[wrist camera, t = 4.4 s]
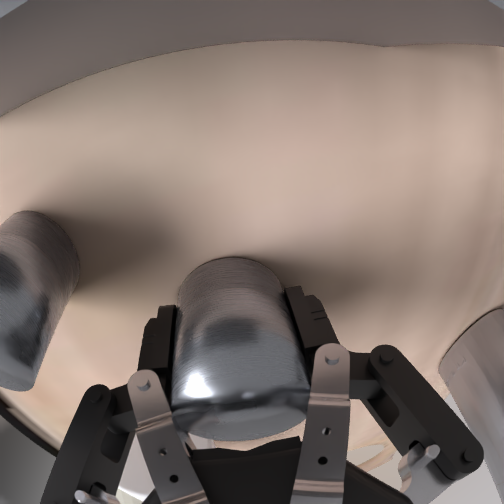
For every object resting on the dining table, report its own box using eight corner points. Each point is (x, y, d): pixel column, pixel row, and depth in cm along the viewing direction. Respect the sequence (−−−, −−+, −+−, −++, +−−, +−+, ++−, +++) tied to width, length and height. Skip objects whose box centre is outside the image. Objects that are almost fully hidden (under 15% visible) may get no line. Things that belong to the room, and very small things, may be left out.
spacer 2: (280, 249, 13) (323, 362, 8) (284, 328, 15) (311, 428, 10) (166, 266, 12) (147, 385, 7) (191, 342, 15) (192, 445, 10)
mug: (208, 387, 18) (216, 499, 11) (221, 439, 23) (229, 514, 17) (55, 382, 17) (34, 473, 10) (103, 435, 22) (97, 505, 15)
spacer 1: (56, 199, 10) (-23, 287, 5) (95, 292, 13) (59, 395, 8) (-13, 223, 10) (-81, 298, 5) (26, 301, 13) (-16, 385, 8)
